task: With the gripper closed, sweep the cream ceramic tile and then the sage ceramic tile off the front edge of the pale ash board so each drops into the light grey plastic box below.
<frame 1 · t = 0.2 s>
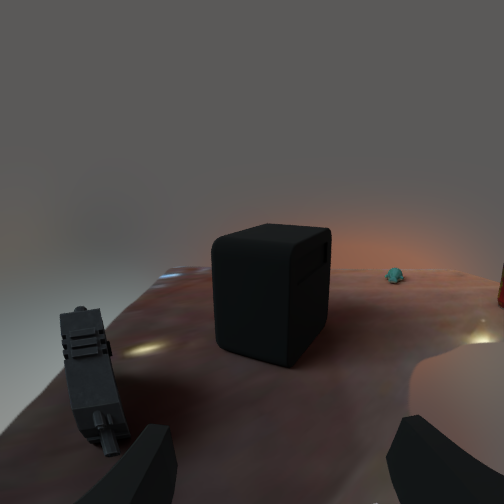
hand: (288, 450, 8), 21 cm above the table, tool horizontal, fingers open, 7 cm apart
air purifier: (273, 337, 60), on the table
tool: (106, 416, 36), on the table
green domed piece: (393, 282, 89), on the table
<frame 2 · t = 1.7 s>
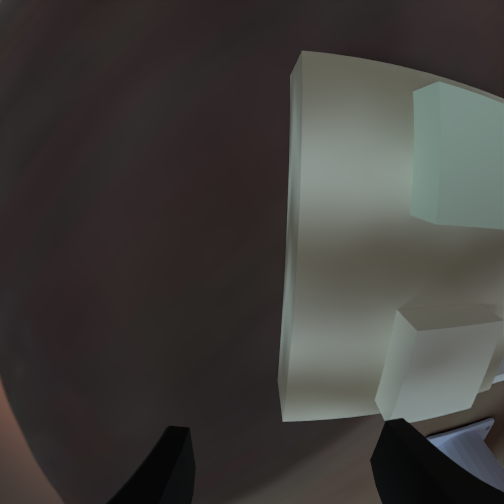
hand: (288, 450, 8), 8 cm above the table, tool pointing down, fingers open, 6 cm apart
tile cream: (430, 354, 13), point 3 cm above the table, touching bench board
tile sage: (461, 160, 11), point 3 cm above the table, touching bench board
bench board: (408, 245, 15), on the table
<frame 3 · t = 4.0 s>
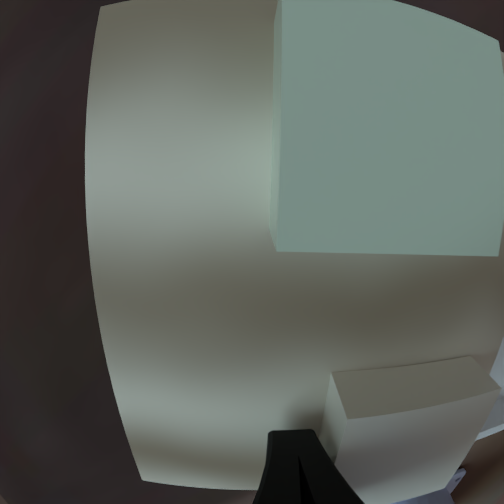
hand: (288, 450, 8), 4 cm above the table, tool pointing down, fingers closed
tile cream: (390, 423, 9), point 4 cm above the table, touching bench board, gripper
tile sage: (377, 129, 7), point 3 cm above the table, touching bench board
bench board: (317, 268, 11), on the table
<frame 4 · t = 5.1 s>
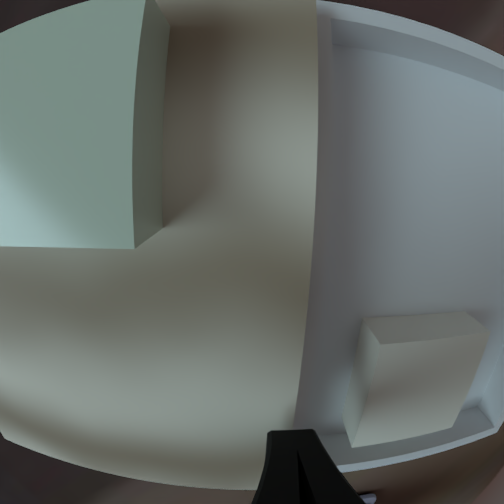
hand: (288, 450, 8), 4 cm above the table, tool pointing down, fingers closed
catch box: (435, 269, 11), on the table
tile cream: (424, 394, 10), point 2 cm above the table, tilted 180°, touching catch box
tile sage: (70, 130, 7), point 3 cm above the table, touching bench board
bench board: (112, 263, 11), on the table
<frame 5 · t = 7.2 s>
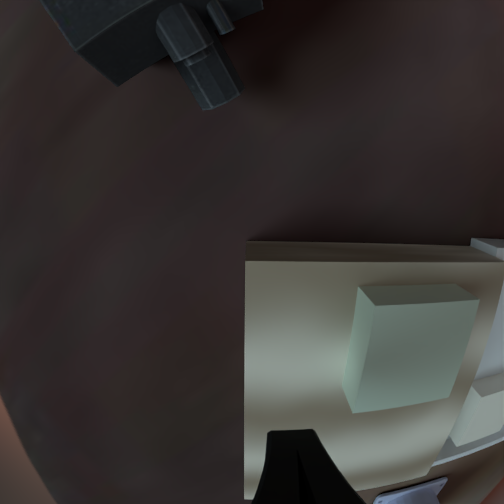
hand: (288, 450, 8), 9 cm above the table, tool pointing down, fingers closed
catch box: (501, 352, 18), on the table
tile cream: (492, 416, 16), point 2 cm above the table, tilted 180°, touching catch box
tile sage: (401, 337, 13), point 3 cm above the table, touching bench board
bench board: (354, 375, 18), on the table
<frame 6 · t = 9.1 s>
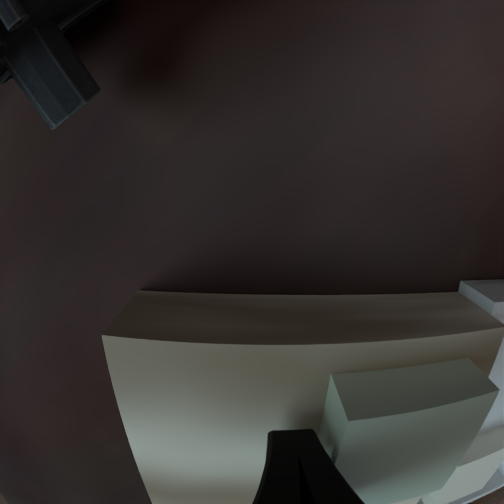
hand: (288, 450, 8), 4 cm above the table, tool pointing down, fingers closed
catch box: (490, 408, 14), on the table
tile cream: (471, 479, 12), point 2 cm above the table, tilted 180°, touching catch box
tile sage: (388, 424, 9), point 4 cm above the table, touching gripper
bench board: (295, 443, 14), on the table
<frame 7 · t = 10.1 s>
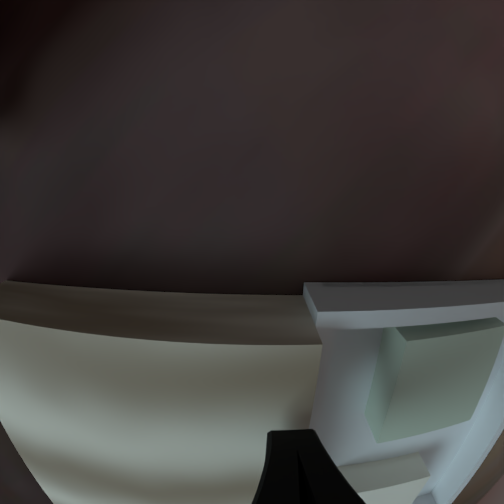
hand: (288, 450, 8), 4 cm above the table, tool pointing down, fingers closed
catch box: (398, 431, 14), on the table
tile sage: (445, 388, 10), point 2 cm above the table, tilted 180°, touching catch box
bench board: (153, 437, 14), on the table
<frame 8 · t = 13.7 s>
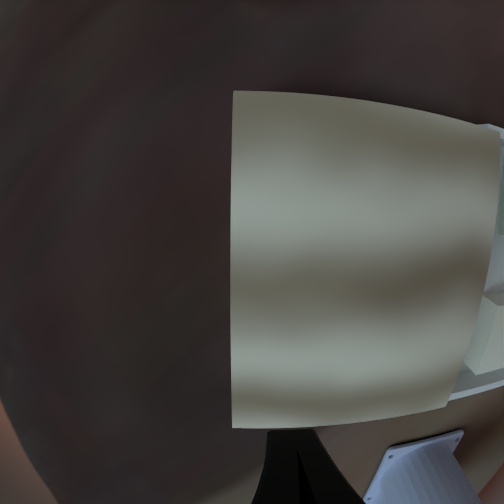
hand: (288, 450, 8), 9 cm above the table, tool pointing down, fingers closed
bench board: (356, 267, 17), on the table
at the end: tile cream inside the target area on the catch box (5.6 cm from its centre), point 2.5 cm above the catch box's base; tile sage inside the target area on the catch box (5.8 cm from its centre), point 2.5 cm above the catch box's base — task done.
